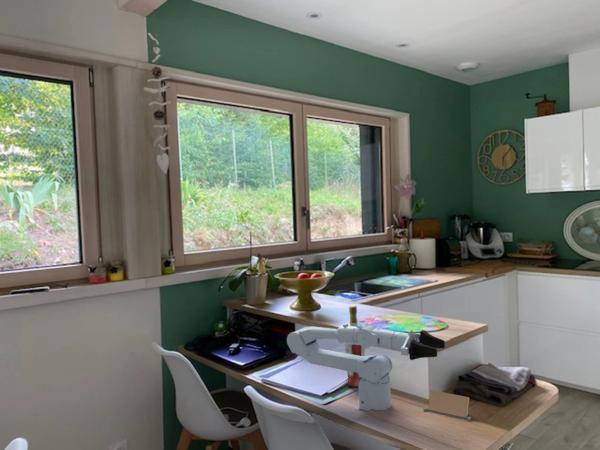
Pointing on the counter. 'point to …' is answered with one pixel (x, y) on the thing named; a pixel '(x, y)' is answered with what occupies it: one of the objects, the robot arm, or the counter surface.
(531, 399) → the counter surface
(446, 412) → the tile
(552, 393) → the counter surface
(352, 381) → the liquor
